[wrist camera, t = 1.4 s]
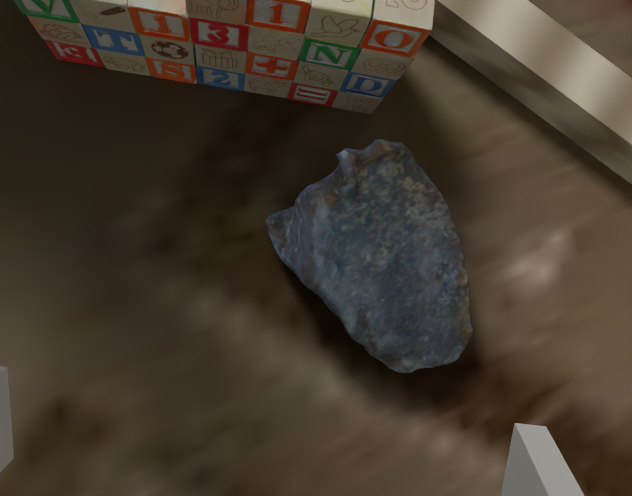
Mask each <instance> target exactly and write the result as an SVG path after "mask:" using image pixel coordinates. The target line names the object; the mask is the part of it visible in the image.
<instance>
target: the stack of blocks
mask: <svg viewBox="0 0 632 496" xmlns="http://www.w3.org/2000/svg"><path fill="white" fill-rule="evenodd" d="M13 1H14V2H15V3H16V5H17V6H18V8H19V9H20V11H21V12H22V13H23V14H24V15H26V16H27V17H28V19H29V21H30V22H31V24H32V25H33V26H34V28H35V30H36V31H37V32H38V34H39V35H40V37H41V38H42V39H44V41H45V43H46V44H47V46H48V47H49V49H50V50H51V52H52V53H53V55H54V56H55V57H56V59H57V60H61V61H68V62H74V63H81V64H88V65H93V66H100V67H106V68H107V69H110V70H116V71H122V72H128V73H134V74H140V75H146V76H153V77H157V78H162V79H168V80H174V81H179V82H185V83H191V84H197V83H199V84H203V85H209V86H216V87H221V88H227V89H233V90H238V91H243V90H244V91H247V92H252V93H258V94H264V95H270V96H276V97H282V98H287V99H289V100H294V101H299V102H305V103H311V104H317V105H322V106H328V107H333V108H338V109H343V110H349V111H355V112H361V113H366V114H373V113H374V112H375V110H376V109H377V107H378V106H379V105H380V103H381V102H382V101H383V99H384V97H385V96H386V94H387V93H388V92H389V90H390V89H391V88H392V86H393V85H394V84H395V82H396V81H397V79H399V78H400V77H401V76H402V74H404V72H405V71H406V69H407V68H408V66H409V65H410V64H411V62H412V61H413V60H414V58H415V53H416V51H417V50H418V49H419V47H420V46H421V45H422V43H423V42H424V41H425V39H426V38H427V36H428V35H429V34H430V32H431V31H432V26H433V15H434V5H435V0H13Z"/></svg>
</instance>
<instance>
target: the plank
mask: <svg viewBox="0 0 632 496" xmlns="http://www.w3.org/2000/svg"><path fill="white" fill-rule="evenodd" d="M429 35H430V36H431V37H432V38H434V39H435V40H437V41H438V42H439V43H441V44H442V45H443V46H445V47H446V48H447V49H449V50H450V51H451V52H453V53H454V54H456V55H457V56H458V57H460V58H461V59H462V60H464V61H465V62H466V63H468V64H469V65H470V66H472V67H473V68H475V69H476V70H477V71H479V72H480V73H481V74H483V75H484V76H485V77H487V78H488V79H489V80H491V81H492V82H493V83H495V84H496V85H498V86H499V87H500V88H502V89H503V90H504V91H506V92H507V93H508V94H510V95H511V96H512V97H514V98H515V99H517V100H518V101H519V102H521V103H522V104H523V105H525V106H526V107H527V108H529V109H530V110H531V111H533V112H534V113H536V114H537V115H538V116H540V117H541V118H542V119H544V120H545V121H546V122H548V123H549V124H550V125H552V126H553V127H555V128H556V129H557V130H559V131H560V132H561V133H563V134H564V135H565V136H567V137H568V138H569V139H571V140H572V141H574V142H575V143H576V144H578V145H579V146H580V147H582V148H583V149H584V150H586V151H587V152H588V153H590V154H591V155H592V156H594V157H595V158H597V159H598V160H599V161H601V162H602V163H603V164H605V165H606V166H607V167H609V168H610V169H611V170H613V171H614V172H616V173H617V174H618V175H620V176H621V177H622V178H624V179H625V180H626V181H628V182H629V183H630V184H632V78H631V77H629V76H628V75H627V74H625V73H624V72H623V71H621V70H620V69H619V68H617V67H616V66H615V65H613V64H612V63H611V62H609V61H608V60H607V59H605V58H604V57H603V56H601V55H600V54H599V53H597V52H596V51H595V50H593V49H592V48H591V47H589V46H588V45H587V44H585V43H584V42H583V41H581V40H580V39H579V38H577V37H576V36H575V35H573V34H572V33H571V32H569V31H568V30H567V29H565V28H564V27H563V26H561V25H560V24H559V23H557V22H556V21H555V20H553V19H552V18H551V17H549V16H548V15H547V14H545V13H544V12H543V11H541V10H540V9H539V8H537V7H536V6H535V5H533V4H532V3H531V2H529V1H528V0H435V5H434V15H433V26H432V31H431V32H430V34H429Z"/></svg>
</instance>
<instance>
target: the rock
mask: <svg viewBox="0 0 632 496" xmlns="http://www.w3.org/2000/svg"><path fill="white" fill-rule="evenodd" d="M336 157H337V158H338V160H339V164H338V167H337V168H336V169H335V171H334V172H333V173H331V174H330V175H329V176H327V177H326V178H324V179H322V180H320V181H318V182H316V183H314V184H311V185H308V186H307V187H306V188H305V189H304V190H303V191H301V193H300V194H299V196H298V197H297V199H296V200H295V204H294V205H292V206H290V207H288V208H286V209H284V210H281V211H278V212H276V213H274V214H271V215H269V216H268V217H267V218H266V220H265V227H266V229H267V231H268V233H269V236H270V239H271V241H272V243H273V245H274V248H275V250H276V252H277V254H278V255H279V257H280V259H281V260H282V261H283V262H284V264H285V265H287V266H288V267H289V268H290V269H291V270H292V271H293V272H295V273H296V275H297V277H298V278H299V279H300V281H301V282H302V283H303V284H304V285H305V286H306V287H307V288H308V289H310V290H311V291H312V292H314V293H315V294H317V295H318V296H319V297H320V298H321V299H322V300H323V301H324V303H325V304H326V305H327V307H328V308H329V309H330V310H331V312H332V313H333V314H334V315H336V316H337V317H338V318H339V319H340V320H341V322H342V323H343V325H344V327H345V329H346V331H347V332H348V334H349V335H350V336H351V338H352V339H353V340H355V341H356V342H358V343H360V344H362V346H363V347H364V349H365V350H366V351H367V352H368V353H369V354H370V355H372V356H373V357H375V358H377V359H378V360H380V361H381V362H383V363H384V364H385V365H386V366H387V367H388V368H390V369H392V370H394V371H397V372H399V373H412V372H413V371H415V370H417V369H421V368H433V367H436V366H439V365H446V364H449V363H452V362H454V361H455V360H457V359H458V358H459V357H460V355H461V353H462V351H463V350H464V349H465V347H466V345H467V344H468V343H469V341H470V339H471V337H472V335H473V325H472V322H471V317H470V311H469V308H470V290H469V282H468V274H467V271H466V267H465V264H464V253H463V249H462V241H461V238H460V235H459V233H458V231H457V228H456V226H455V223H454V221H453V218H452V215H451V211H450V209H449V207H448V205H447V203H446V202H445V200H444V198H443V196H442V195H441V193H440V192H439V190H438V189H437V188H436V186H435V185H434V184H433V183H432V182H431V181H430V179H429V178H428V176H427V175H426V173H425V171H424V170H423V169H422V168H421V167H420V166H419V165H418V164H417V162H416V161H415V159H414V156H413V155H412V153H411V151H410V150H409V149H408V148H407V147H406V146H405V145H404V144H403V143H400V142H389V141H386V140H384V139H379V140H375V141H374V142H373V143H372V144H371V145H369V146H367V147H366V148H365V149H363V150H356V149H350V148H345V149H344V150H343V151H341V152H340V153H337V154H336Z"/></svg>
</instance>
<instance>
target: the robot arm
mask: <svg viewBox="0 0 632 496" xmlns="http://www.w3.org/2000/svg"><path fill="white" fill-rule="evenodd" d="M13 458H14V455H13V440H12V426H11V411H10V397H9V383H8V368H7V367H2V366H0V472H1V471H2V470H3V469H4V468H5V467H6V466H7V465H8V464H9V463H10V462H11V460H12V459H13ZM501 496H584V494H583V492H582V491H581V489H580V487H579V485H578V483H577V482H576V480H575V478H574V476H573V474H572V473H571V471H570V469H569V467H568V465H567V464H566V462H565V460H564V458H563V456H562V455H561V453H560V451H559V449H558V447H557V446H556V444H555V442H554V440H553V438H552V437H551V435H550V433H549V431H548V429H547V428H546V426H537V425H528V424H519V423H515V425H514V430H513V435H512V440H511V445H510V450H509V455H508V461H507V466H506V471H505V476H504V481H503V486H502V492H501Z"/></svg>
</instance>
